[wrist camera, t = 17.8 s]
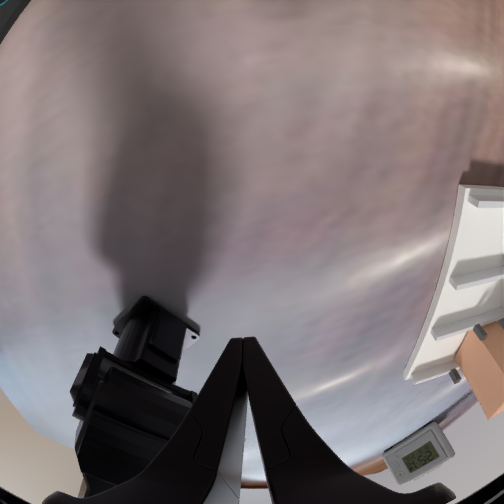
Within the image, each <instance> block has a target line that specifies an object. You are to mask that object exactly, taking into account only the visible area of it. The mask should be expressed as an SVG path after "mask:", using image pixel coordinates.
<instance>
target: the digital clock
mask: <svg viewBox="0 0 504 504" xmlns="http://www.w3.org/2000/svg"><path fill="white" fill-rule="evenodd" d="M454 455H455V452H454V450H453V449H452V446H451V445H450V443H449V442H448V440H447V438H446V437H445V435H444V433H443V431H442V430H441V428H440V427H439V425H438V424H437V422H432V423H430V424H429V425H427V426H426V427H424V428H421V429H420V430H418V431H417V432H415V433H414V434H412V435H411V436H409V437H408V438H406V439H405V440H403V441H401V442H400V443H398V444H396V445H395V446H393V447H392V448H391V449H390V450H388V451H386V452H385V453H383V455H382V457H383V459H384V461H385V463H386V465H387V466H388V468H389V470H390V472H391V473H392V475H393V477H394V479H395V481H396V482H397V484H398V485H399V486H403V485H405V484H407V483H409V482H411V481H413V480H416V479H417V478H420V477H421V476H423V475H425V474H427V473H429V472H431V471H432V470H434V469H436V468H437V467H439V466H441V465H442V464H444V463H445V462H447V461H449V460H450V459H452V458H453V457H454Z"/></svg>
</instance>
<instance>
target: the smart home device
mask: <svg viewBox="0 0 504 504" xmlns="http://www.w3.org/2000/svg"><path fill="white" fill-rule="evenodd" d="M30 1H31V0H0V44H1V42H2V41H3V39H4V37H5V36H6V34H7V33H8V31H9V30H10V28H11V27H12V25H13V24H14V22H15V21H16V20H17V18H18V17H19V15H20V14H21V13H22V11H23V10H24V9H25V7H26V6H27V5H28V4H29V2H30Z"/></svg>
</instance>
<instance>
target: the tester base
mask: <svg viewBox="0 0 504 504" xmlns="http://www.w3.org/2000/svg"><path fill="white" fill-rule="evenodd" d="M503 261H504V187H497V186H482V185H462V184H459V187H458V194H457V201H456V207H455V213H454V218H453V223H452V228H451V233H450V238H449V242H448V246H447V251H446V255H445V259H444V262H443V266H442V270H441V273H440V277H439V280H438V284H437V287H436V290H435V293H434V297H433V300H432V303H431V306H430V308H429V311H428V314H427V317H426V320H425V322H424V325H423V328H422V330H421V333H420V335H419V338H418V340H417V343H416V345H415V348H414V350H413V352H412V355H411V357H410V359H409V361H408V364H407V366H406V368H405V370H404V372H403V377H404V379H405V380H407V379H410V378H411V381H412V383H413V385H415V384H418V383H421V382H425V381H428V380H431V379H433V378H436V377H439V376H442V375H445V374H447V373H449V374H450V376H451V378H452V380H453V382H454V383H455V384H456V383H458V382H459V381H460V380H461V377H460V375H459V374H458V372H457V370H458V369H460V367H459V365H458V364H457V362H456V360H455V359H454V358H455V356H456V354H457V352H458V351H459V349H460V347H461V345H462V343H463V341H464V339H465V337H466V335H467V333H468V331H470V330H473V331H474V333H475V334H476V335H477V337H478V338H479V339H480V341H482V340H485V338H486V337H487V335H488V334H487V333H486V332H485V330H484V329H483V328H482V326H484V325H486V324H489V323H492V322H494V321H497V322H498V323H499V324H500V326H501V327H502V328H503V329H504V262H503Z"/></svg>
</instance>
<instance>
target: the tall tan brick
mask: <svg viewBox="0 0 504 504" xmlns="http://www.w3.org/2000/svg"><path fill="white" fill-rule="evenodd" d="M482 328H483V329H484V330H485V332H486V333H487V334H488V335H487V337H486V338H485V340H482V341H480V339H479V338H478V337H477V335H476V334H475V333H474V331H473V330H470V331H468V333H467V335H466V337H465V339H464V341H463V343H462V345H461V347H460V349H459V351H458V352H457V354H456V356H455V358H454V359H455V360H456V362H457V364H458V365H459V367H460V369H461V371H462V372H463V374H464V376H465V377H466V379H467V381H468V383H469V385H470V386H471V388H472V390H473V392H474V394H475V395H476V397H477V399H478V401H479V403H480V405H481V407H482V409H483V411H484V413H485V415H486V417H487V419H490V418H492V417H493V416H495V415H497V414H498V413H500V412H502V411H503V410H504V329H503V328H502V327H501V326H500V324H499V323H498V322H497V321H494V322H492V323H489V324H486V325H484V326H482Z"/></svg>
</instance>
